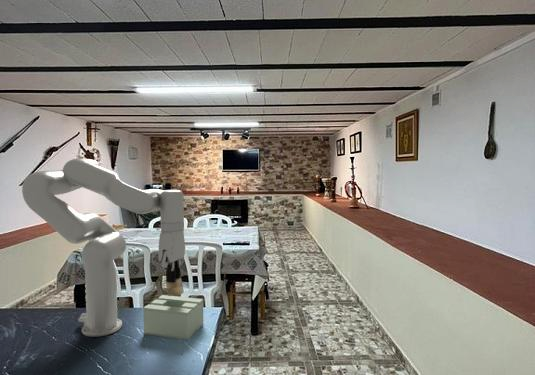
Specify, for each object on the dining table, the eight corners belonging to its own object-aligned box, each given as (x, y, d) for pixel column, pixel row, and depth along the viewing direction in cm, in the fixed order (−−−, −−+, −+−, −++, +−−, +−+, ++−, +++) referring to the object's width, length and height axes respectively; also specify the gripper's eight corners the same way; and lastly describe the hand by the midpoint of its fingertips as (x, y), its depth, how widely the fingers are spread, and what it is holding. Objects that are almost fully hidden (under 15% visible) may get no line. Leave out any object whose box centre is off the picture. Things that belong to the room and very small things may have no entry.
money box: (143, 334, 118) (143, 307, 117) (162, 319, 129) (162, 294, 129) (187, 340, 114) (187, 312, 113) (203, 323, 126) (203, 299, 125)
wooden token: (168, 296, 119) (165, 281, 119) (172, 293, 122) (169, 279, 122) (180, 294, 118) (177, 280, 118) (183, 292, 121) (181, 277, 121)
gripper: (174, 222, 128) (175, 272, 129) (148, 230, 112) (149, 287, 113) (193, 223, 126) (194, 274, 127) (169, 231, 110) (170, 289, 111)
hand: (173, 280), depth 120 cm, fingers closed on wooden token, 2 cm apart
